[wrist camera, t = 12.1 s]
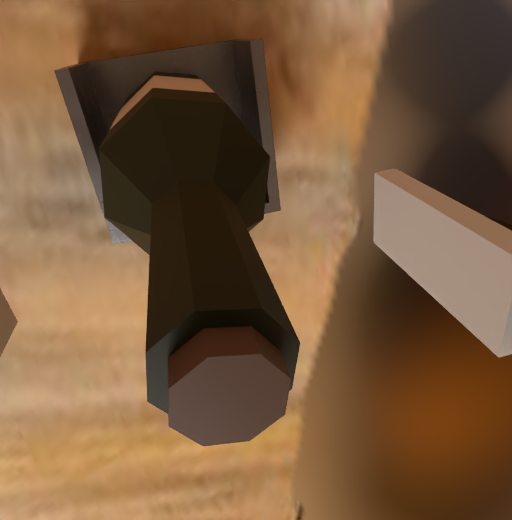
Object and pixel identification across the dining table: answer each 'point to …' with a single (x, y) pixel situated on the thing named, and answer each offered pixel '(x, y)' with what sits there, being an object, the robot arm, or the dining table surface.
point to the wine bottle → (200, 259)
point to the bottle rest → (171, 61)
